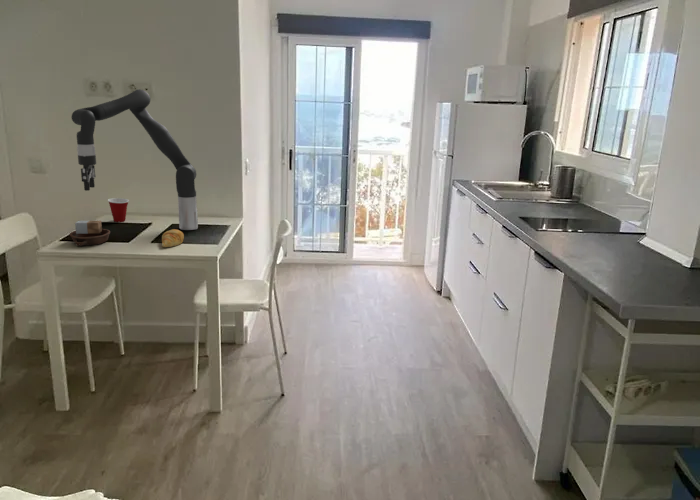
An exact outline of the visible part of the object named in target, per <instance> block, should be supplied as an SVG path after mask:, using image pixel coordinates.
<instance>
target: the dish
mask: <svg viewBox="0 0 700 500" xmlns="http://www.w3.org/2000/svg"><path fill="white" fill-rule="evenodd" d="M110 234H111V231H110V230H109V229H107V228H102V231H101V232H100V233H88V234H76V230H73V231H71V232H69V234H68V235H69V236H70V237H71V240H72V241H73V242H74V244H75V246H77V247H81V246H96V245H101V244H104V243H106V242H107V241H108V240H109V236H110Z"/></svg>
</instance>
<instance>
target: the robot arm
mask: <svg viewBox="0 0 700 500" xmlns="http://www.w3.org/2000/svg"><path fill="white" fill-rule="evenodd" d="M150 103H151V96H150V94H149V93H148V91H145V90H144V89H141V88H140V89H135V90H134V91H132V92H130V93H128V94H127V95H124V96H121V97H118V98H116V99H113V100H110V101H106V102H103V103H99V104H96V105H93V106H91V107H90V106H88V107H83V108H78V109H75V110H74V111H73V112H72V113H71V121H72V122H73V123H74V124H75V125H78V126H80V131H77V132H76V142H77V146H76V147H77V148H76V151H77V161H78V165H80V166H83V167H82V168H80V175H81V182H83V187H84V189H83V190H84V191H85V192H86V191H90V190H91V189H90V188H95V186H96V185H95V179H96V170H95V169H96V168H95V167H96V166H95V165H97V157H96V155H97V154H96V147H95V140H94V138H95V137H94V134H95V128H96V127H95V126H96V122H97V121H98V122H99V121H105V120H107V119H110V118H112V117H115V116H117V115H119V114H121V113H123V112H126V111H128V110H129V111H130V112H131V113H132V114H133V116H134V117H135V118H136V119H137V120H138V122H139V123H140V125H142V127H143V128H144V130H145V131H146V133H147V134H148V135H149V137H150V139H151V140H152V141H153V143H154V145H155V146H156V148H157V149H158V150H159V151H160V152H161V153H162V154H163V155H164V156H165V157H167V159H168V160H169V161H171V163H172V164H173V166H174V168H175V170H176V172H175V184H176V192H177V201H178V202H177V207H178V208H177V209H178V226H179V229H180V231H181V230H182V231H193V230H198V228H199V224H198V223H199V222H198V220H199V219H198V207H197V206H198V205H197V191H196V187H195V186H196V185H195V179H196V178H197V170H196V168H195V167H194V165H192V164H191V162H190V161H189V160H188V158H187V157H186V156H185V155H184V153H183V152H182V150H181V148H180V146H179V145H178V143H177V142H176V141H175V138H174V137H173V136H172V133H170V131H169V129H167V127H166V126H165V125H163V124H162V123H161V122H159V121H157V120H156V119H155V118H153V117H152V115H151V114H150V113H149V111H148V110H147V107H148V106H149V105H150ZM179 229H178V230H179Z"/></svg>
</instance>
